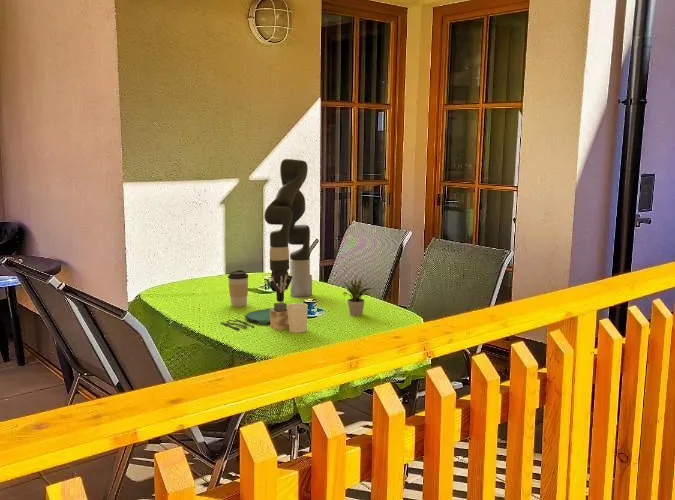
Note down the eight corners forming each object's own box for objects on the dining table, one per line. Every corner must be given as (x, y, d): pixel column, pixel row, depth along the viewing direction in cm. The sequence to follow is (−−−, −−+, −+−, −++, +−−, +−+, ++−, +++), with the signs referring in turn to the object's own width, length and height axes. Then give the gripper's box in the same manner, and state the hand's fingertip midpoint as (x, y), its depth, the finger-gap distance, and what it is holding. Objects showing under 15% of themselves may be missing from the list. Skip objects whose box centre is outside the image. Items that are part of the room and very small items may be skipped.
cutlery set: (303, 319, 287) (303, 314, 286) (239, 333, 269) (238, 327, 268) (277, 310, 302) (277, 305, 302) (215, 323, 284) (214, 317, 284)
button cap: (282, 308, 276) (282, 302, 276) (286, 310, 273) (286, 303, 273) (274, 309, 274) (274, 303, 274) (278, 311, 271) (278, 305, 271)
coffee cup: (245, 307, 306) (244, 273, 304) (225, 306, 308) (224, 273, 306) (251, 302, 315) (251, 270, 313) (232, 301, 317) (231, 269, 315)
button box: (283, 324, 279) (283, 307, 278) (291, 327, 274) (291, 310, 273) (270, 326, 276) (270, 309, 275) (277, 330, 271) (277, 312, 270)
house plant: (346, 321, 283) (346, 281, 280) (331, 313, 295) (331, 275, 292) (377, 316, 289) (377, 278, 287) (360, 309, 301) (360, 272, 299)
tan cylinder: (287, 328, 274) (287, 303, 272) (307, 327, 274) (307, 302, 273) (287, 333, 266) (287, 308, 264) (308, 333, 266) (308, 307, 265)
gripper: (283, 254, 278) (283, 297, 281) (260, 259, 267) (261, 303, 270) (297, 256, 274) (298, 299, 276) (275, 261, 263) (276, 306, 266)
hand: (280, 301), depth 273 cm, fingers closed
